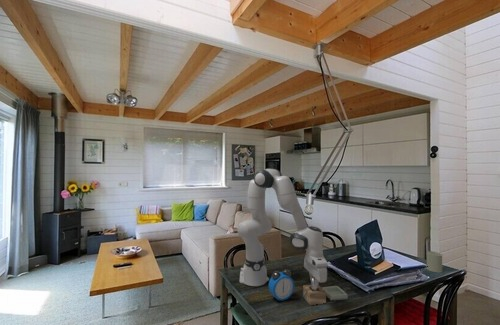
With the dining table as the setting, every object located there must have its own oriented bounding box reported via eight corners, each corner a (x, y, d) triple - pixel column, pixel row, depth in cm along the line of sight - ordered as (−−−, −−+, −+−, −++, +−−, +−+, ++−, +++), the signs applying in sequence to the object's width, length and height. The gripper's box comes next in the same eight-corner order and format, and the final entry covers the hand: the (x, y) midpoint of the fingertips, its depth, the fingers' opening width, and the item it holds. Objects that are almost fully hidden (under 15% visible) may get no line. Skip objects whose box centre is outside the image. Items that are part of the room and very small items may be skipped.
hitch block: (302, 296, 139) (303, 285, 139) (317, 294, 141) (317, 284, 141) (310, 305, 130) (310, 293, 130) (325, 303, 132) (326, 292, 132)
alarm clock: (273, 303, 131) (273, 274, 132) (267, 297, 137) (268, 270, 137) (294, 298, 137) (294, 271, 137) (288, 293, 142) (288, 266, 142)
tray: (321, 291, 145) (321, 287, 145) (337, 289, 147) (337, 285, 147) (330, 300, 135) (330, 296, 135) (347, 298, 137) (347, 294, 137)
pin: (310, 298, 137) (310, 272, 137) (315, 298, 137) (315, 272, 137) (312, 301, 134) (312, 275, 134) (318, 301, 134) (318, 275, 134)
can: (437, 267, 181) (437, 250, 181) (445, 273, 172) (445, 255, 172) (423, 266, 182) (423, 250, 182) (431, 272, 173) (431, 254, 173)
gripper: (301, 251, 145) (301, 275, 145) (317, 265, 125) (317, 292, 125) (311, 250, 146) (311, 274, 146) (329, 264, 126) (329, 291, 126)
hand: (314, 283), depth 136 cm, fingers closed on pin, 3 cm apart
